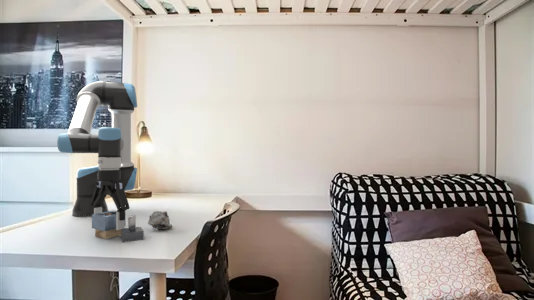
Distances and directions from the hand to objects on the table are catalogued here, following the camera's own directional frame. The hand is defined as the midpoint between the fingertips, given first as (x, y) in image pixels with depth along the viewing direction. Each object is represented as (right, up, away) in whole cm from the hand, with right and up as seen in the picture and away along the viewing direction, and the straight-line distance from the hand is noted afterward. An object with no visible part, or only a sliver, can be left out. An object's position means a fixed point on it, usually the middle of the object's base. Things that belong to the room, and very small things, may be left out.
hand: (108, 227), depth 112 cm
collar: (0, 0, 0) cm, 0 cm away
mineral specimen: (+15, -4, +10) cm, 18 cm away
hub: (+10, -3, -3) cm, 11 cm away
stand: (0, -3, 0) cm, 3 cm away
